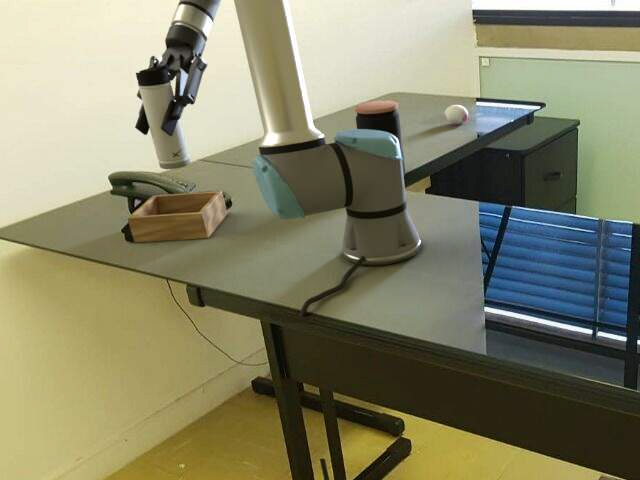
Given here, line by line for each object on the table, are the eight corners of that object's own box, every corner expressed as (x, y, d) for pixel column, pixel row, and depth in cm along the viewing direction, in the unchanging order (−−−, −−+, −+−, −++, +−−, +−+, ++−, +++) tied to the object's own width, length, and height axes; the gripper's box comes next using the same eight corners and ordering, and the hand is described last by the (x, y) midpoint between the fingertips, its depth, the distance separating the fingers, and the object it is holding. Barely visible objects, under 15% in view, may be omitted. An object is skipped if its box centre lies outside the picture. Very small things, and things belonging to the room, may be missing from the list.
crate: (208, 238, 169) (201, 213, 166) (134, 242, 169) (127, 218, 166) (227, 214, 183) (222, 190, 180) (159, 218, 183) (152, 195, 180)
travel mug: (186, 168, 165) (161, 67, 155) (155, 170, 166) (128, 69, 156) (196, 160, 171) (172, 62, 161) (166, 162, 171) (140, 64, 161)
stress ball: (470, 132, 252) (472, 112, 252) (464, 123, 244) (466, 102, 244) (447, 131, 253) (450, 111, 254) (440, 122, 246) (443, 101, 246)
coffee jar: (399, 184, 195) (390, 109, 186) (358, 184, 197) (347, 110, 188) (411, 172, 204) (403, 100, 194) (371, 172, 206) (362, 101, 197)
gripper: (235, 45, 166) (201, 143, 161) (166, 46, 173) (132, 140, 169) (212, 21, 159) (177, 122, 155) (141, 23, 166) (105, 120, 162)
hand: (153, 131), depth 162 cm, fingers closed on travel mug, 6 cm apart
